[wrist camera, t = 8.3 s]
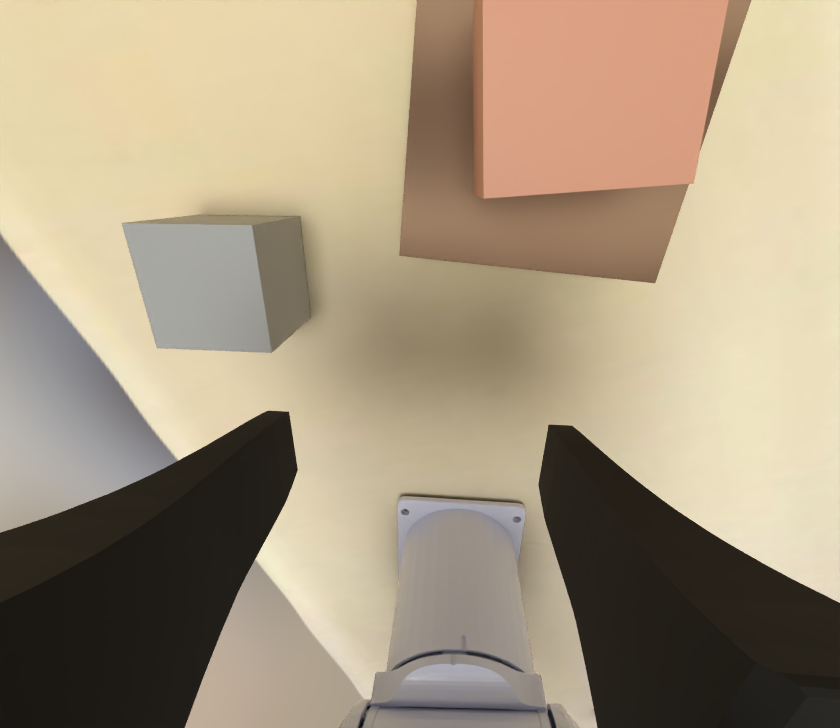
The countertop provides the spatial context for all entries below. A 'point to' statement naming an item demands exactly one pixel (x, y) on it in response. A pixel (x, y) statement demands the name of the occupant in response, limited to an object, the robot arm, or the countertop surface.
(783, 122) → the countertop surface
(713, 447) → the countertop surface
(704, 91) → the salmon pink cube
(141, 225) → the grey cube
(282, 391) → the countertop surface
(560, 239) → the walnut block
